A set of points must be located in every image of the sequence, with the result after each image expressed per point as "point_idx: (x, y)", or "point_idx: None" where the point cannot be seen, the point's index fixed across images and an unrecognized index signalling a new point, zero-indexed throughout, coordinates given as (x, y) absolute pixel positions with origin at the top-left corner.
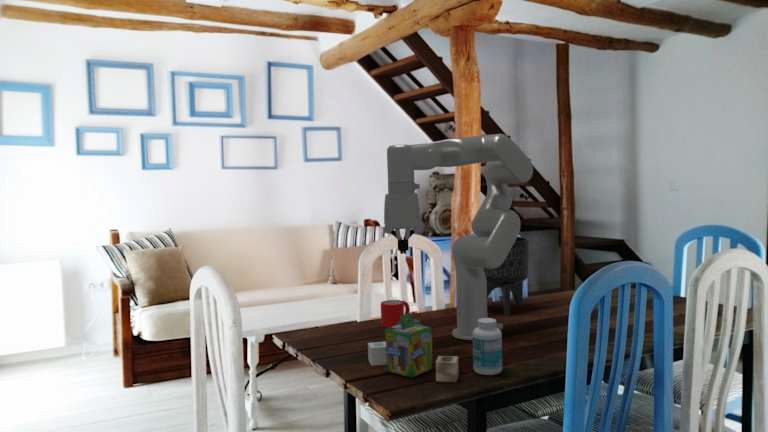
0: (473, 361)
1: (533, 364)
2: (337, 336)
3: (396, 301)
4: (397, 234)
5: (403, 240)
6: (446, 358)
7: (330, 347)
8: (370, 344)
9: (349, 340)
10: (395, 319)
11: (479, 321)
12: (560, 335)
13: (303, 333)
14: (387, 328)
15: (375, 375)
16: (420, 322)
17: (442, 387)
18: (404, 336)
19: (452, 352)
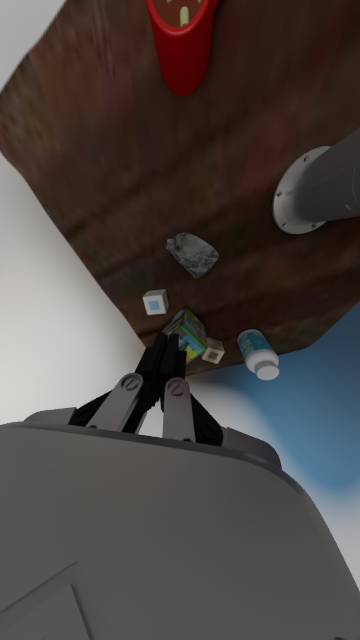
0: (239, 343)
1: (299, 331)
2: (90, 163)
3: None
4: (123, 430)
5: (160, 401)
6: (212, 356)
7: (97, 232)
8: (146, 303)
9: (114, 196)
10: (187, 76)
11: (257, 375)
12: None
13: (25, 124)
14: None
15: (156, 329)
16: (213, 250)
17: None
18: None
19: (239, 281)
